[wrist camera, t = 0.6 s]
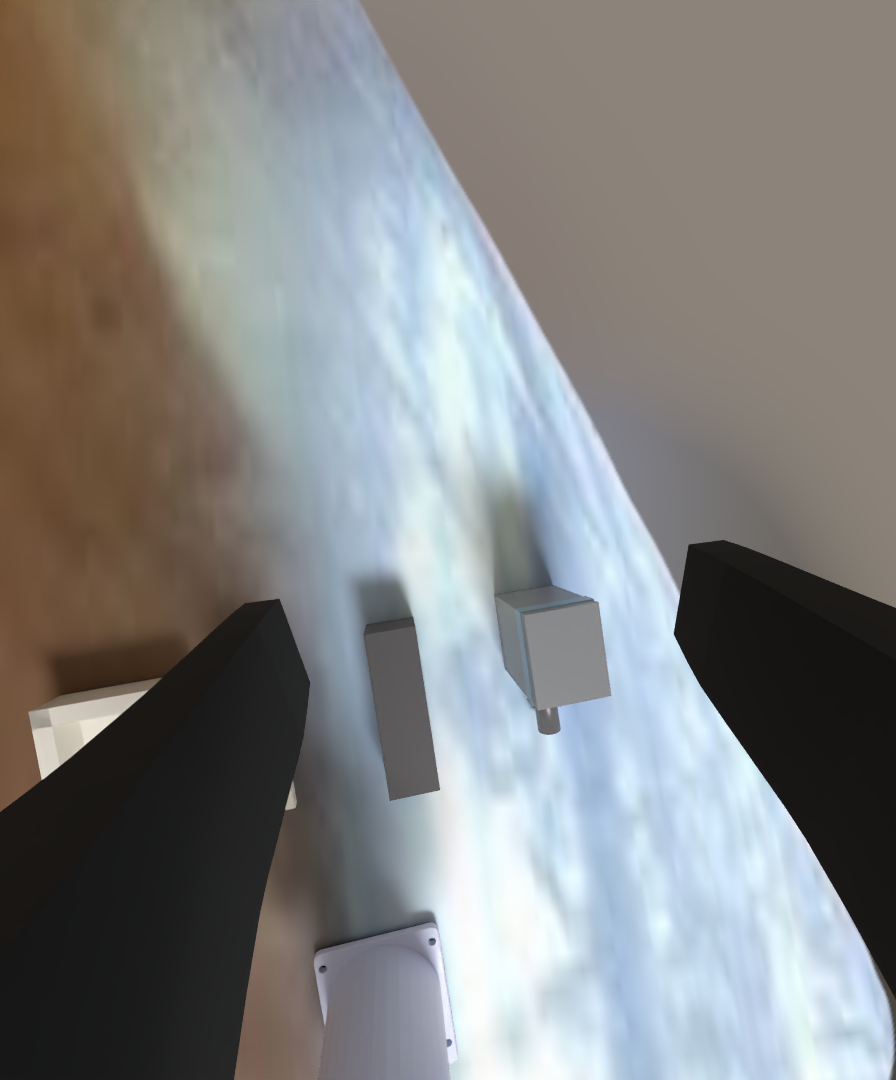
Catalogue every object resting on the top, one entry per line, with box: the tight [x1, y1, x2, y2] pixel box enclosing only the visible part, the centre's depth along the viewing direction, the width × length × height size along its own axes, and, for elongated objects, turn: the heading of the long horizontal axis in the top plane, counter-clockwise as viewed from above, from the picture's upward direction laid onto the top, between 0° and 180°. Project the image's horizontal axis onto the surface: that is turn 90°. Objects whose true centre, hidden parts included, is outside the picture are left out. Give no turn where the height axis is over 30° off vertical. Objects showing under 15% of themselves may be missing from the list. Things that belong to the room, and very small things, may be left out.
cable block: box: [364, 617, 440, 801], centre depth 29 cm, size 10×3×3 cm, turn 8°
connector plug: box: [494, 585, 611, 735], centre depth 28 cm, size 9×4×7 cm, turn 8°
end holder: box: [29, 677, 163, 780], centre depth 27 cm, size 8×8×2 cm
